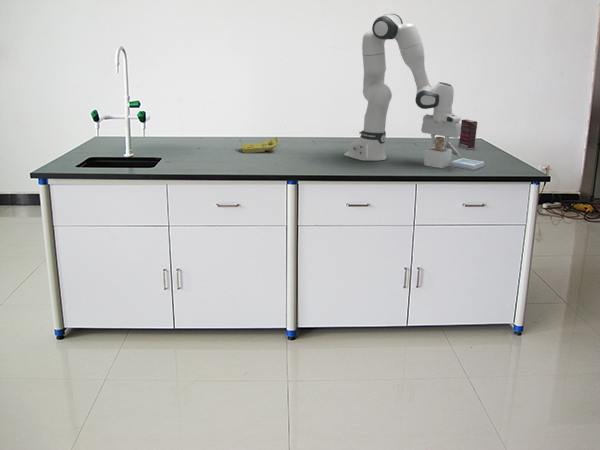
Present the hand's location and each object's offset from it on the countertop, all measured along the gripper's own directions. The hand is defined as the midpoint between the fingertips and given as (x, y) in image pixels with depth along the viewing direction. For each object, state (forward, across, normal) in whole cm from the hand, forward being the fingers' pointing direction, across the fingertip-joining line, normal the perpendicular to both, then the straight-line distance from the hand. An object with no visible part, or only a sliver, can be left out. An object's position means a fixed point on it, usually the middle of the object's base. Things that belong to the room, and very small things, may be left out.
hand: (439, 144), depth 302 cm
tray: (+11, +12, +9) cm, 18 cm away
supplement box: (+11, -10, +52) cm, 54 cm away
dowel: (+11, 0, 0) cm, 11 cm away
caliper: (+11, -10, +35) cm, 38 cm away
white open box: (+11, 0, 0) cm, 11 cm away
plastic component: (+11, -84, -43) cm, 95 cm away
